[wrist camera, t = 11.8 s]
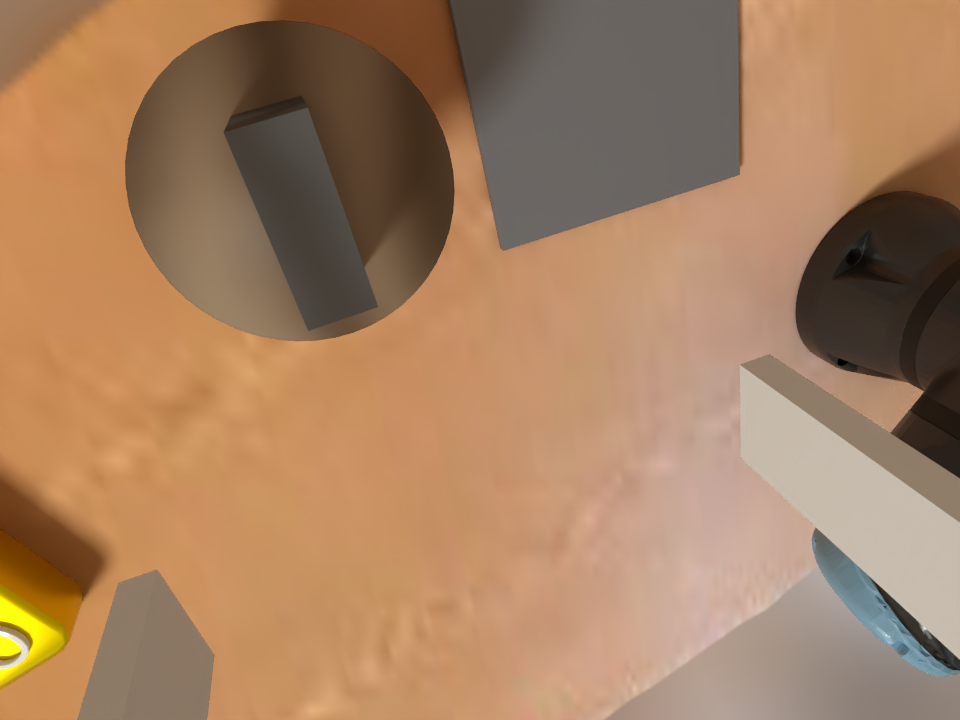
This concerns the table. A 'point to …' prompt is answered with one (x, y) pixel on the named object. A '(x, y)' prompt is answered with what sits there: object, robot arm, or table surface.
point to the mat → (597, 104)
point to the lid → (289, 180)
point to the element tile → (32, 610)
